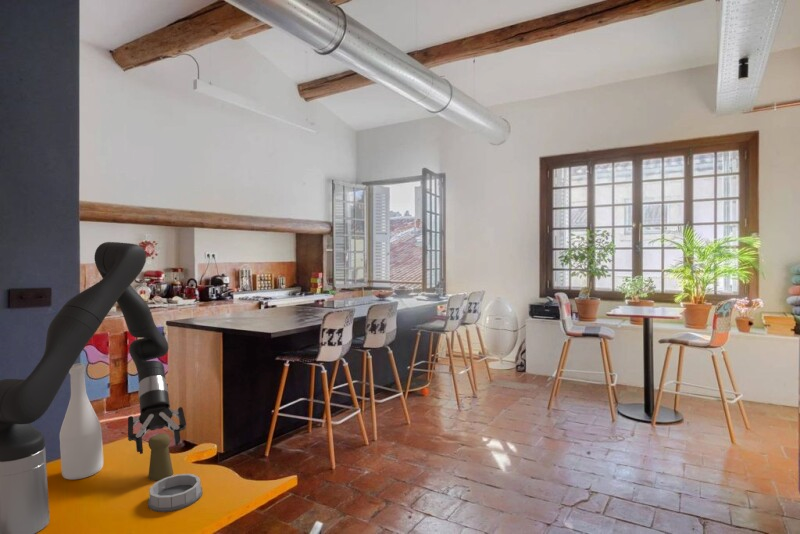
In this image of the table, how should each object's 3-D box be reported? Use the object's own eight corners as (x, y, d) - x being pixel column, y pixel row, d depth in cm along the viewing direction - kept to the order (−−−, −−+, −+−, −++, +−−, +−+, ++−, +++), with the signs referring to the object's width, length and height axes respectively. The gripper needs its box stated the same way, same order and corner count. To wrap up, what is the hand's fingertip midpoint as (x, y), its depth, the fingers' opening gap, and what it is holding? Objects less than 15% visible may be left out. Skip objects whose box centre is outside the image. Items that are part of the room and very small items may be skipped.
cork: (163, 481, 124) (161, 440, 123) (143, 479, 125) (140, 439, 125) (178, 470, 130) (176, 431, 129) (159, 469, 131) (157, 430, 131)
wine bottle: (108, 471, 130) (102, 364, 129) (66, 484, 123) (59, 371, 122) (98, 461, 137) (92, 358, 135) (58, 473, 130) (51, 365, 128)
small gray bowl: (150, 518, 108) (149, 503, 107) (146, 494, 118) (145, 481, 118) (206, 501, 114) (205, 488, 114) (198, 480, 124) (197, 468, 124)
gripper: (125, 393, 131) (129, 449, 122) (181, 384, 138) (189, 436, 129) (125, 406, 135) (129, 461, 126) (180, 397, 143) (187, 448, 134)
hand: (159, 448), depth 128 cm, fingers open, 8 cm apart
